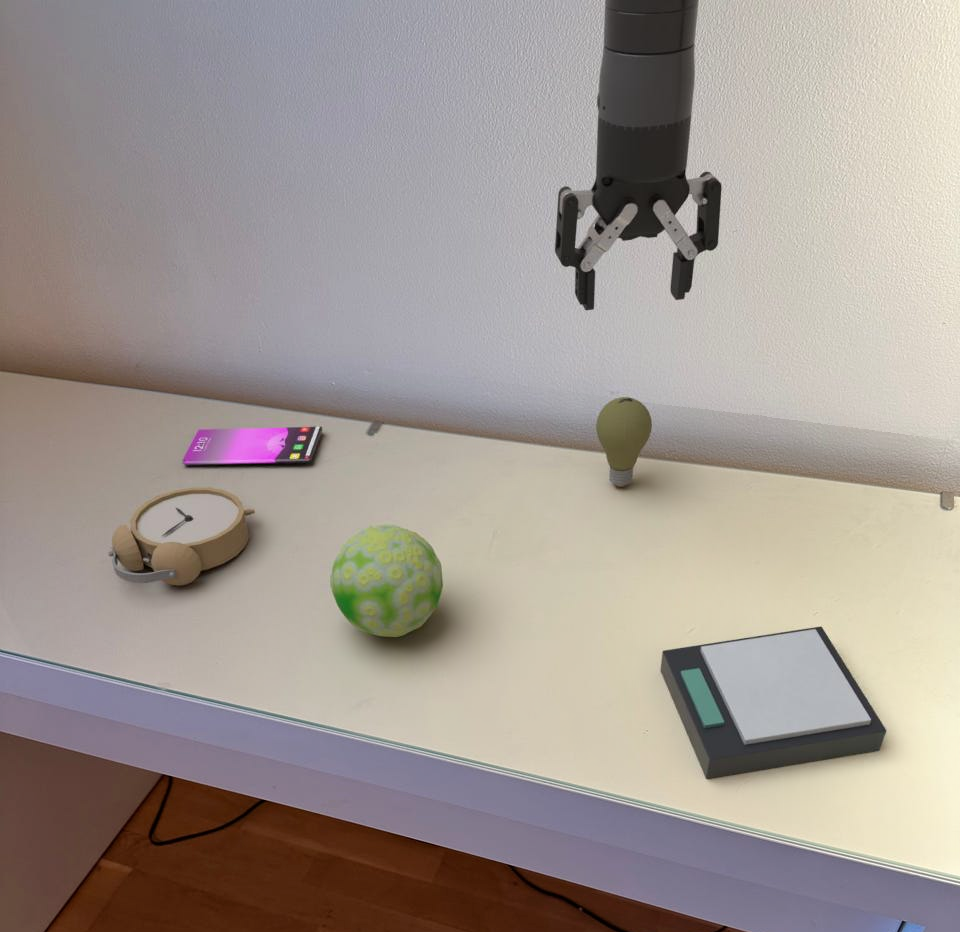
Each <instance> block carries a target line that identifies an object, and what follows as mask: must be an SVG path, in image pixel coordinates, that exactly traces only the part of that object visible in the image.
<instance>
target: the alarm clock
mask: <svg viewBox="0 0 960 932" xmlns="http://www.w3.org/2000/svg"><path fill="white" fill-rule="evenodd" d="M255 511H256V510H255V509H254V508H247V509H244V505H243V502H242V500H241V499H240V498H238V496H236V494H233V493H231V492H230V491H226V490H225V489H220V488H213V487H187V488H181V489H174V490H172V491H169V492H165V493H163V494H159V495H157V496H155V497H153V498H151V499H149V500H148V501H146V502H144V503H143V504H142V505H141V506H139V507H138V508H137V509H136V510H135V511H134V513H133V514H132V516H131V518H130V520H129V527H128V525H127V524H122V525H120V526H119V527H117V528H115V530H114V531H113V532H112V533H113V534H112V537H111V546H112V547H110V549H111V550H109V551H107V553H108V556H109V557H111V564H112V566H113V570H114V573H115V575H116V576H117V577H119V578H121V579H122V580H124V581H125V582H130V583H137V584H145V583H146V584H147V583H153V582H157V581H163V582H164V583H166V584H169V585H172V586H185V585H188V584H190V583H192V582H194V581H195V580H196V579H197V578H198V577H199V576H200V573H201V571H206V570H210V569H213V568H215V567H218V566H220V565H223V564H225V563H226V562H228V561H230V560H231V559H233V558H235V557H236V556H238V555H239V554H240V552H241V551H243V549H244V548H245V547H246V546H247V543H248V540H249V538H250V534H249V529H248V525H247V522H246V516H250V515H253V514H255V513H256V512H255ZM129 528H130V529H129ZM118 563H120V564H121V566H122V567H124V568H125V569H127V570H128V571H126V570H124V569H122V568H121V567H119V566H118ZM144 565H146V566H147V567H150V568H151V569H152V570H153V571H151V572H146V573H145V572H143V573H139V572H138V571H142V570H144V567H145V566H144ZM130 571H133V572H130ZM134 571H135V572H134ZM137 572H138V573H137Z"/></svg>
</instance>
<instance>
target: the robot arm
mask: <svg viewBox="0 0 960 932" xmlns="http://www.w3.org/2000/svg"><path fill="white" fill-rule="evenodd" d="M699 1H700V0H604V21H603V22H604V23H603V50H602V56H601V57H602V58H601V64H600V70H599V79H598V92H597V96H596V97H597V98H596V106H597V134H596V135H597V136H596V161H595V162H596V164H595V165H596V167H595V180H594V183H593V185H592V186H591V189H589V190H588V189H587V190H586V189H585V190H572V189H571V187H570V186H566V185H564V186H562V187H561V188H560V189H559V191H558V196H557V207H556V208H557V210H556V211H557V212H556V223H555V224H556V226H555V239H554V240H555V242H554V253H555V255H556V257H557V258H558V261H559V262H560V264H561V266H562V267H565V268H568V267H572V268H574V273H575V274H574V278H575V279H574V296H575V297H576V300H577V301H578V303H579V305H580V306H582V307H583V308H584V310H585V311H594V309H595V295H596V292H595V291H596V290H595V288H596V270H595V269H594V267H595V266H596V264H597V263H598V262H599V260H600V259H601V258H602V256H603V255H604V254H605V253H607V252H608V251H609V250H610V249H611V248H612V246H613V245H614V243H616V241H617V240H618V239H621V241H623V242H626V241H633V240H635V239H638V238H640V237H641V238H648V239H651V238H658V235H659V234H661V233H662V232H664V231H665V232H666V234H667V235H668V236H669V238H670V239H671V241H672V242H673V244H674V245H675V246H676V251H674V252H673V253H672V263H671V264H672V265H671V266H672V267H671V275H670V287H669V288H670V290H669V291H670V295H672V297H673V298H674V300H675V301H681V300H685V298H686V293H690V291H691V289H692V288H693V287H692V286H693V276H694V267H695V260H696V259H697V256H698V255H699V254H701V253H703V252H705V251H709V252H711V251H714V250H716V249H717V247H718V246H719V235H720V220H721V219H720V218H721V202H722V190H723V189H722V187H723V186H722V182H721V181H719V180H718V178H717V177H716V176H715V175H714V174H713V173H711V172H710V171H704V172H702V173H701V174H700V176H699V177H693V178H688V179H687V175H686V172H687V167H688V157H689V146H690V135H691V124H692V114H693V104H694V103H693V102H694V91H695V81H696V61H695V57H696V56H695V48H696V44H695V42H696V35H697V25H698V12H699ZM689 195H691V196H692V197H691V199H692V200H693V202H694V203H695V204H696V206H697V211H696V232H695V233H693V234H690V235H688V232H687V231H686V229H685V228H684V227H683V225H682V224H681V222H680V221H679V219H678V218H677V217H676V215H677V213H678V212H679V211H680V209H681V208H682V206H683V205H684V204H685V202H686V201H687V200H688V197H689ZM590 206H592V207H593V208H594V210H595V211H596V213H597V216H596V217H595V219H594V220H593V222H592V223H591V225H590V226H589V227H588V229H587V232H586V236H585V237H584V239H583V240H582V242H581V243H580V244H579V246H578V247H576V243H577V242H576V241H577V239H576V238H577V228H578V227H577V226H578V220H580V219H582V218H583V217H584V215H585V213H586V210H587V208H589V207H590Z"/></svg>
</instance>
